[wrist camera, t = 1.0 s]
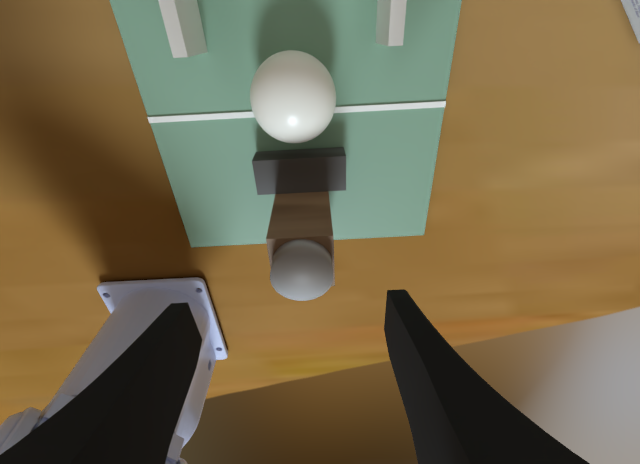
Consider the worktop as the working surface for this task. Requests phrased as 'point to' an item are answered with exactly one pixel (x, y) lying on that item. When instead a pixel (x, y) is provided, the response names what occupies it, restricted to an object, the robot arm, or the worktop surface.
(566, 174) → the worktop surface
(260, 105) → the ball
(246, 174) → the board
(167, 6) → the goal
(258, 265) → the worktop surface
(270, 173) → the kicker
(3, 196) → the worktop surface
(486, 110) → the worktop surface
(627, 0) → the medicine box
